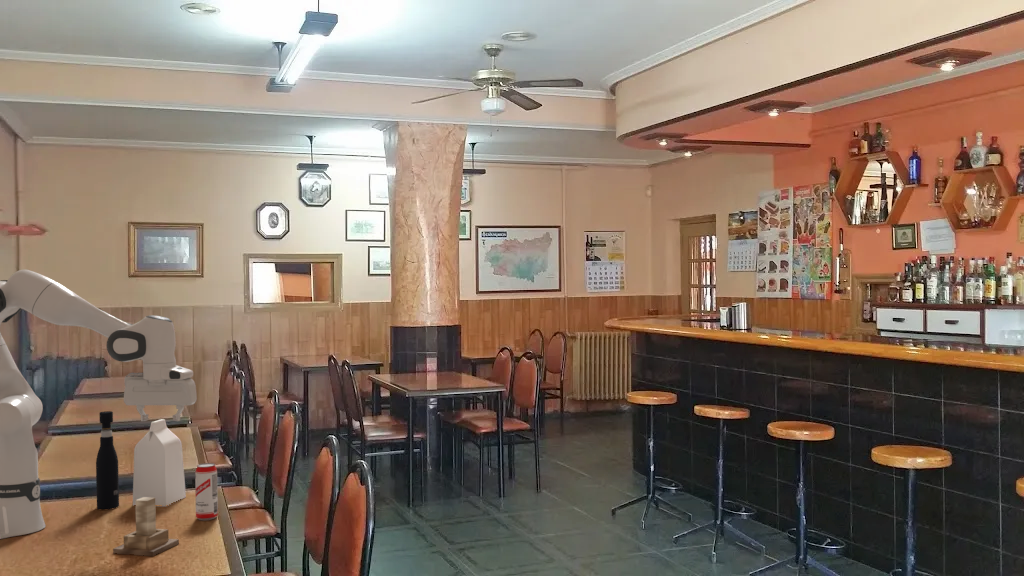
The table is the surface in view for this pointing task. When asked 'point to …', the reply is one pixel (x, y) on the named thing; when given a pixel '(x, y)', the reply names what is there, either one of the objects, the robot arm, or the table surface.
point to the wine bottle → (107, 466)
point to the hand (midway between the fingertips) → (160, 420)
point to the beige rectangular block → (145, 516)
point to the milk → (159, 466)
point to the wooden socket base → (146, 543)
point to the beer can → (206, 491)
